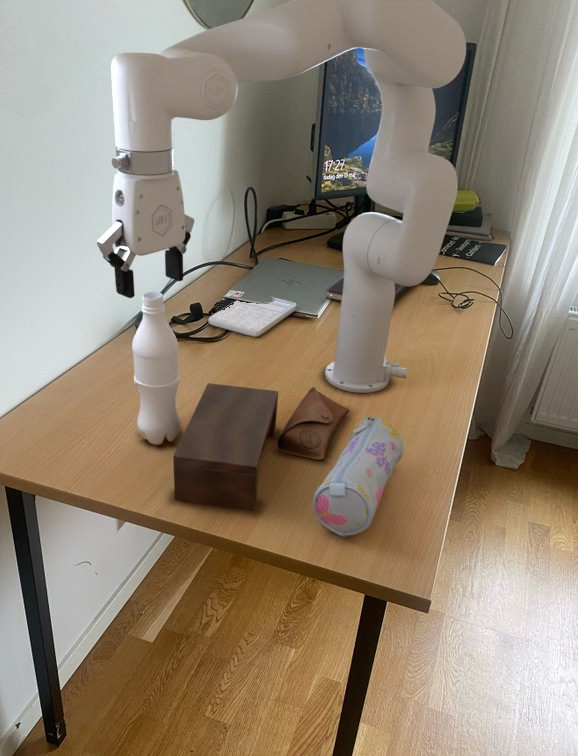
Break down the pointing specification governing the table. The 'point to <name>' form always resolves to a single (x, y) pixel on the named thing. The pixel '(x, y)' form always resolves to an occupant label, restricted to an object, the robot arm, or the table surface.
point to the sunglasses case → (311, 426)
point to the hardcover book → (338, 291)
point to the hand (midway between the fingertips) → (150, 286)
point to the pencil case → (359, 478)
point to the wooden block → (225, 446)
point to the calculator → (252, 316)
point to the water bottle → (156, 372)
